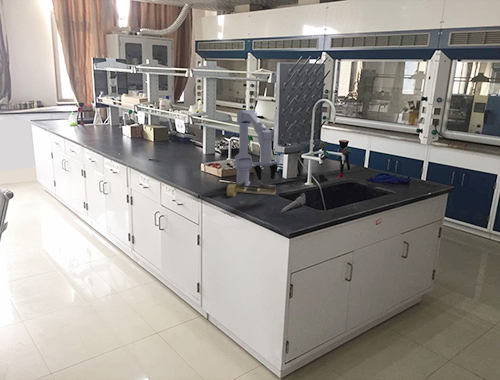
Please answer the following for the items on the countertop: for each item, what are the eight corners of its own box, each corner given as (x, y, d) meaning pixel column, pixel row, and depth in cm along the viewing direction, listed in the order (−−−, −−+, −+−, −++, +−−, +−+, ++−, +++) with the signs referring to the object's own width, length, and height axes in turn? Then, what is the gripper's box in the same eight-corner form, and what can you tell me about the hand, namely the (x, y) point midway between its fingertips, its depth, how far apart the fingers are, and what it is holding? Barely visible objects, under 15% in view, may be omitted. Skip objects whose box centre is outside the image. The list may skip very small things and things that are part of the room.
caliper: (303, 203, 214) (304, 192, 212) (305, 204, 213) (305, 192, 211) (280, 212, 198) (281, 200, 197) (282, 213, 198) (282, 200, 196)
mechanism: (230, 188, 237) (231, 179, 235) (276, 191, 233) (276, 182, 232) (228, 191, 230) (228, 182, 229) (274, 194, 227) (275, 186, 225)
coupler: (226, 196, 221) (227, 187, 220) (229, 192, 228) (229, 183, 227) (234, 196, 221) (234, 187, 220) (236, 193, 228) (236, 184, 226)
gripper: (256, 154, 208) (257, 181, 210) (281, 153, 214) (281, 179, 216) (250, 153, 215) (251, 179, 217) (275, 152, 221) (275, 177, 223)
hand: (266, 179), depth 217 cm, fingers open, 7 cm apart
